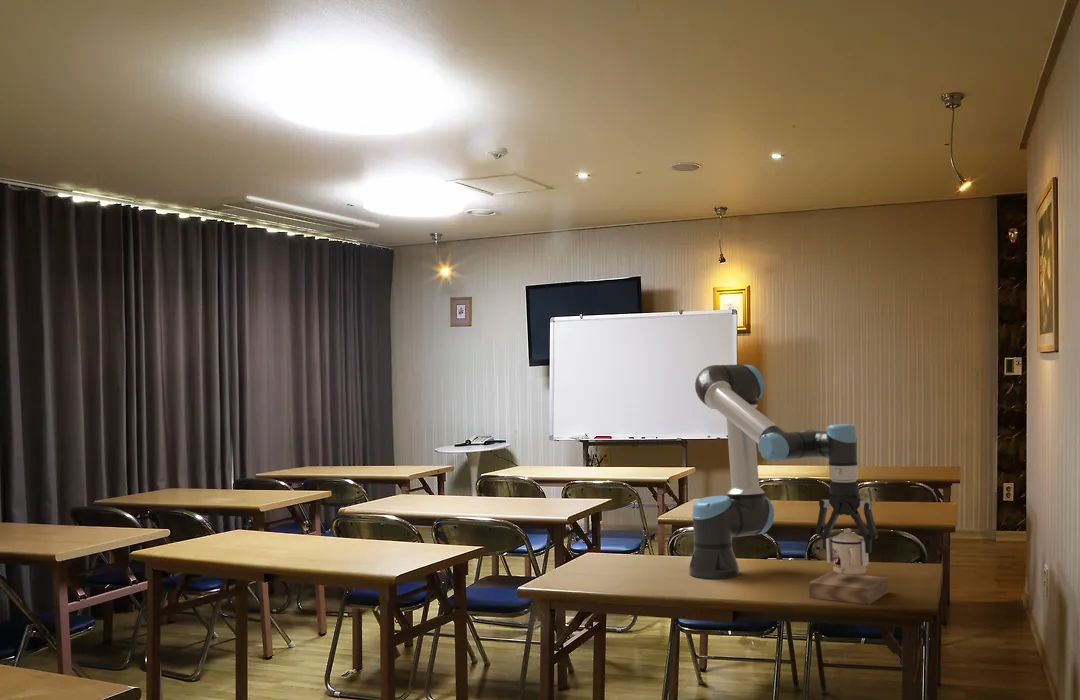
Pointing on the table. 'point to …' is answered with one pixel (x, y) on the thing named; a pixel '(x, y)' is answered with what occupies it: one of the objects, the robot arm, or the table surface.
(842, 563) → the teacup with lid
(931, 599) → the table surface
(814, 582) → the wooden square block
